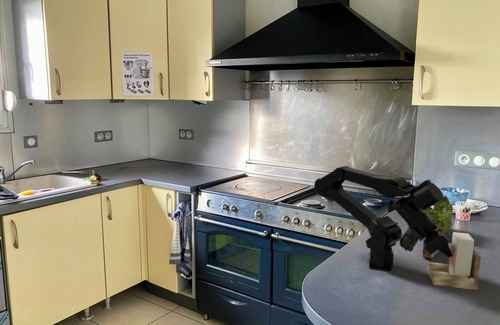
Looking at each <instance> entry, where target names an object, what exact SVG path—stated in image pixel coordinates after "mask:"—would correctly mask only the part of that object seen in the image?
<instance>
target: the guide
mask: <svg viewBox="0 0 500 325" xmlns="http://www.w3.org/2000/svg"><path fill="white" fill-rule="evenodd" d="M481 259H482V257H481V256H480V255H479V253H478V252H477V251H476V250H475V249H474V248H473V255H472V262H471V270H470V276H467V277H464V276H455V275H451V274H450V272H449V264H450V263H449V264H448V263H440V262H431V261H430V262H428V263H427V264H428V266H427V269H426V270H427V273H428V275H429V276H430V280H431V282H432V284H433V285H434V286H442V287H450V288H458V289H465V290H475V291H478V290H479V285H478V282H479V275H480V273H479V272H480V267H481Z"/></svg>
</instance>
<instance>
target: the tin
mask: <svg viewBox="0 0 500 325" xmlns="http://www.w3.org/2000/svg"><path fill="white" fill-rule="evenodd" d="M436 230H438V228H437V229H436ZM441 230H442V229H441ZM442 231H443V233H444V230H442ZM438 253H440V251H439V250H437V251H436V252H434V253H433V254H431V255H430V254H429V253H428V252H427V251H426V250H425V248H424V246H422V257H423V258H427V259H430V260H431V259H433V258H434V257H435V256H436V255H437V254H438Z"/></svg>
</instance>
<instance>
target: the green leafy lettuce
mask: <svg viewBox="0 0 500 325" xmlns="http://www.w3.org/2000/svg"><path fill="white" fill-rule="evenodd" d="M443 197H444V199H443V201H441V202H439V203H437V204H435V205H433V206H432V207H430V208H428V209H426V210H423V211H424V212H425V213H426V215H427V216H428V217H432V218H433V219H434V220H435V221H436V222H437V225H436V226H437V227H438V229H440V228H441V229H442V230H444V234H445V235H446V233H448V232H449V230H450V229H451V228H452V226H453V222H452V219H453V217H454V215H453V212H454V207H453V204H451V201H450V200H449V197H448V196H447V195H444V194H443Z"/></svg>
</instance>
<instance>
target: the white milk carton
mask: <svg viewBox="0 0 500 325" xmlns="http://www.w3.org/2000/svg"><path fill="white" fill-rule="evenodd" d="M451 239H452V240H451V244H450V246H449V248H450V250H451V253H452V256H451V257H450V258H449V257H448V258H449V259H448V261H449V272H450V274H451V275H455V276H464V277H467V276H470V270H471V262H472V255H473V249H474V245H475V240H474V239H473V237H472V236H471V235H470V234H469V233H464V232H454V231H453V233H452V238H451Z"/></svg>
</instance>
